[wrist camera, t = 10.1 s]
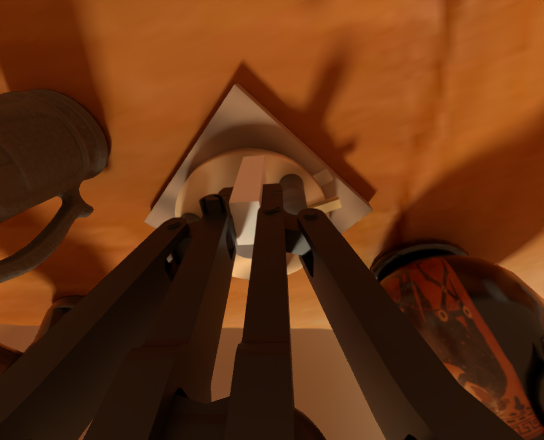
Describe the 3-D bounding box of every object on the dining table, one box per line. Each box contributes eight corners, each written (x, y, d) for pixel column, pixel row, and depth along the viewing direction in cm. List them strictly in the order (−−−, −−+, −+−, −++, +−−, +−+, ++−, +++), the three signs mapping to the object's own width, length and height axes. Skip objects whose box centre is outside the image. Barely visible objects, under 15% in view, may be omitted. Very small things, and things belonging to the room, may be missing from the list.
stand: (266, 281, 44) (265, 291, 42) (150, 214, 36) (143, 223, 34) (368, 202, 34) (373, 211, 32) (237, 82, 26) (234, 84, 24)
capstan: (157, 229, 34) (124, 278, 27) (229, 107, 25) (207, 131, 17) (269, 286, 41) (266, 338, 33) (360, 207, 31) (385, 255, 24)
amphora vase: (431, 315, 49) (563, 547, 26) (332, 298, 47) (382, 534, 24) (516, 237, 37) (904, 544, 14) (387, 208, 34) (598, 518, 12)
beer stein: (-9, 107, 28) (-412, 183, 12) (52, 62, 25) (-365, 81, 9) (94, 208, 36) (-60, 337, 20) (150, 183, 33) (22, 309, 17)
